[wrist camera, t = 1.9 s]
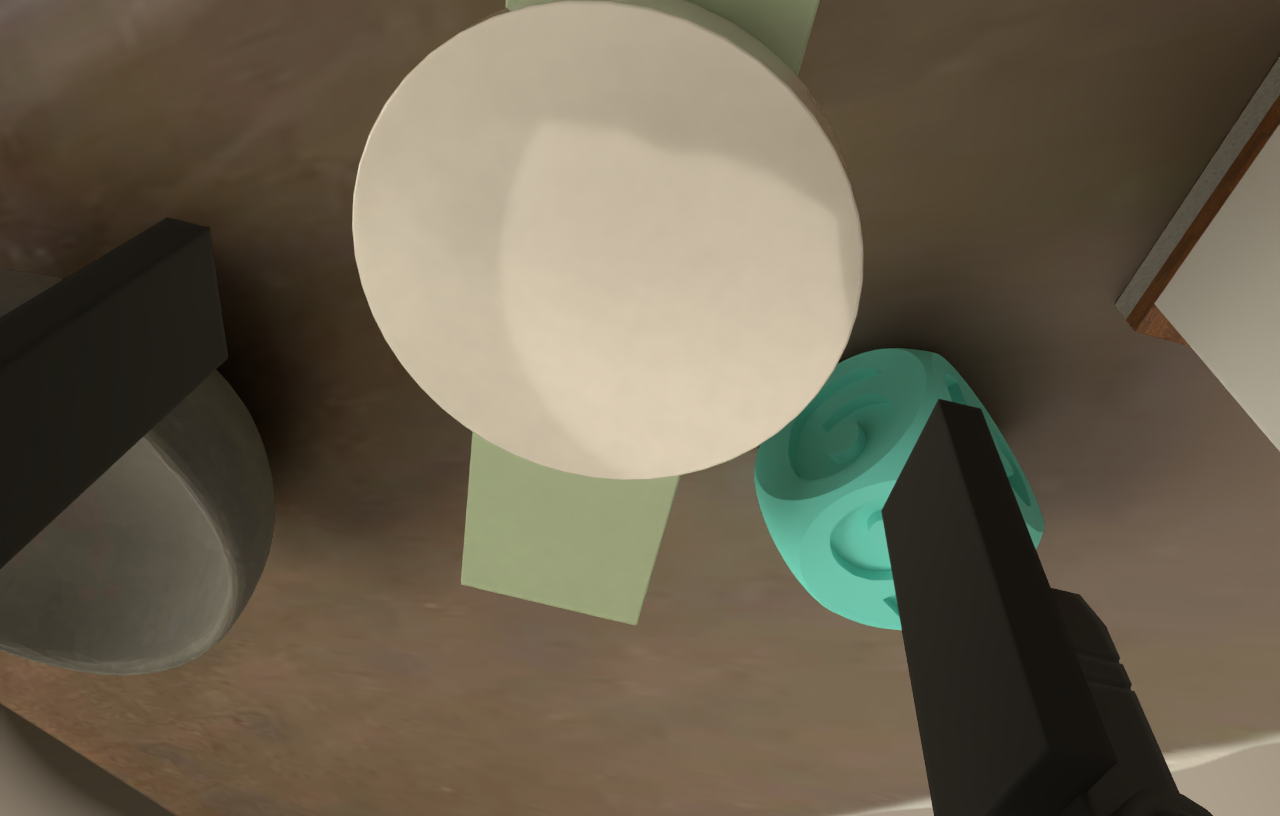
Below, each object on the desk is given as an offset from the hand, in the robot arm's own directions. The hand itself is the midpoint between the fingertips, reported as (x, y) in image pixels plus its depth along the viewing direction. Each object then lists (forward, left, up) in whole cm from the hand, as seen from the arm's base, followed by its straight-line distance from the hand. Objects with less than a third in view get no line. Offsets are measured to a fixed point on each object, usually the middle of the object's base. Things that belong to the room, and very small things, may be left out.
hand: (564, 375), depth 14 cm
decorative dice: (+11, +12, -17) cm, 24 cm away
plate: (0, 0, -5) cm, 5 cm away
